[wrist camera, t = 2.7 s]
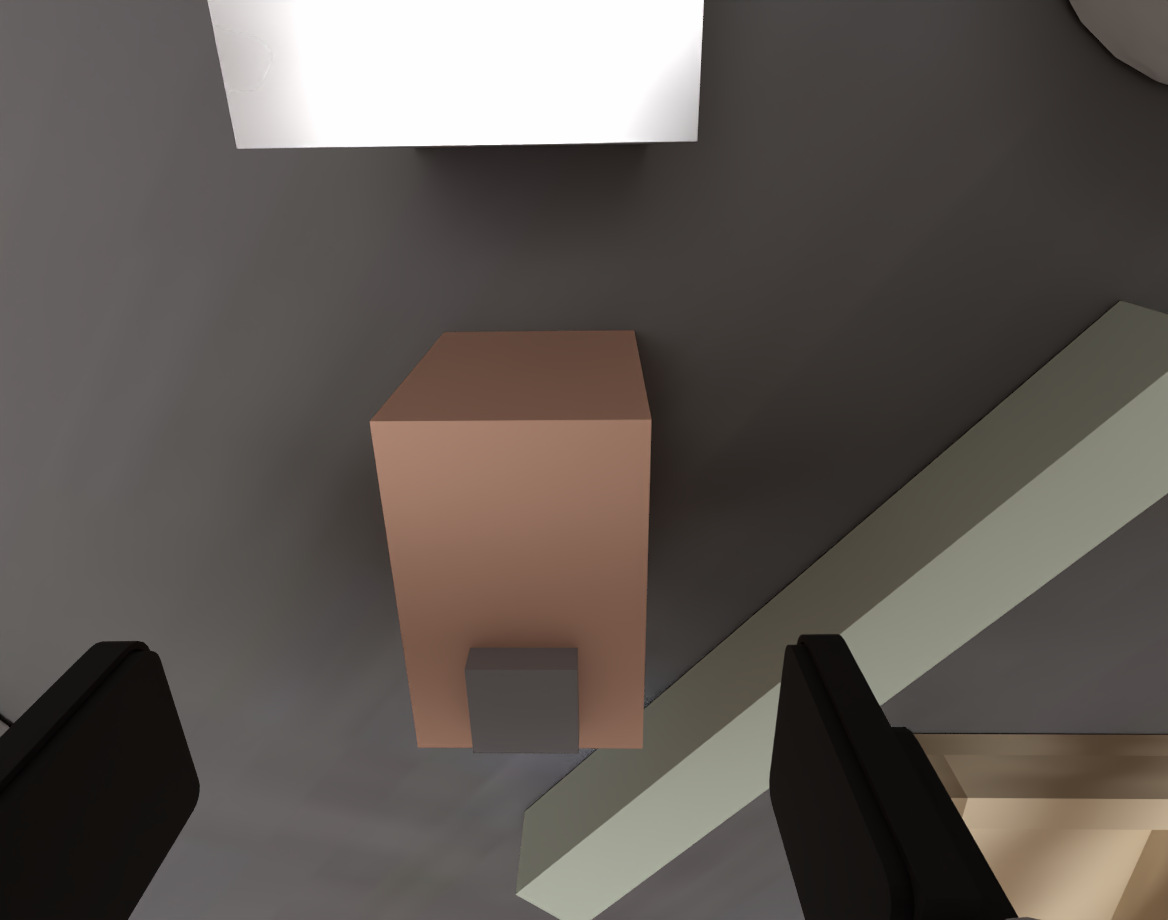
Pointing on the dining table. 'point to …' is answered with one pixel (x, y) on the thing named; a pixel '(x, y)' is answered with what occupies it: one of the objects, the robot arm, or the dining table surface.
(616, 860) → the pale green bar
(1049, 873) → the keyed cradle
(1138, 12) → the toilet tissue
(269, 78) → the post
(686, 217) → the dining table surface
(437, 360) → the block
